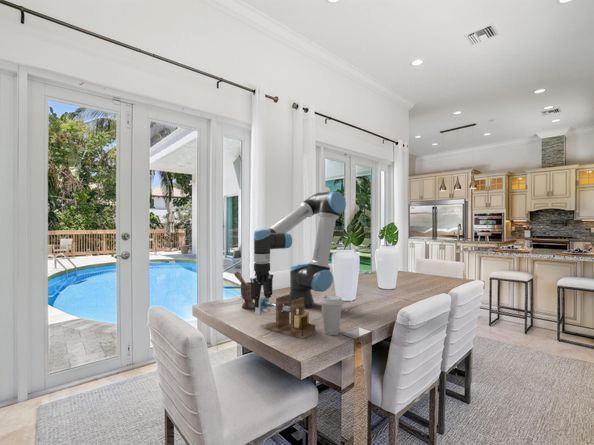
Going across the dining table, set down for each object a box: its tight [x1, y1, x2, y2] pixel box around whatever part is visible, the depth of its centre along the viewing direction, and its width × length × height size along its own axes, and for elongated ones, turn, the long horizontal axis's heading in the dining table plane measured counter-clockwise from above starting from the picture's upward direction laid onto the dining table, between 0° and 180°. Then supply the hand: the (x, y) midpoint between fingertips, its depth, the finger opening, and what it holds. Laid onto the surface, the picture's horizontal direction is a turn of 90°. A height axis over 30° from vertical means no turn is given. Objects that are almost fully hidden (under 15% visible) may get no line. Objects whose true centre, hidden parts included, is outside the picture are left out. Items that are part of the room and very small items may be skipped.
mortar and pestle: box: [234, 271, 255, 310], centre depth 169 cm, size 12×9×20 cm
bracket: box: [264, 294, 317, 340], centre depth 135 cm, size 20×10×14 cm, turn 54°
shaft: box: [259, 296, 291, 314], centre depth 140 cm, size 20×5×5 cm, turn 54°
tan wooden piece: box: [294, 310, 310, 330], centre depth 131 cm, size 2×7×7 cm, turn 144°
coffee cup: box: [320, 294, 344, 336], centre depth 132 cm, size 10×10×15 cm
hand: (261, 312), depth 145 cm, fingers closed on shaft, 5 cm apart
